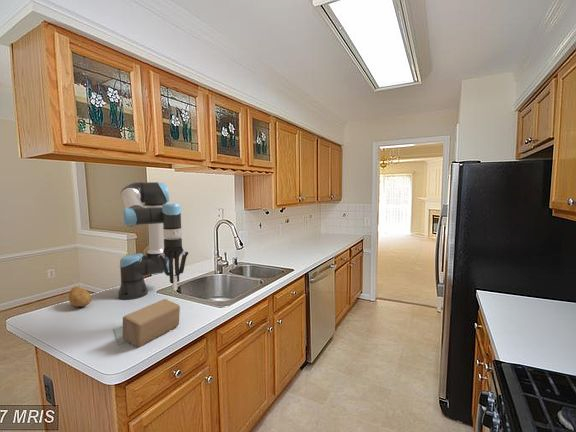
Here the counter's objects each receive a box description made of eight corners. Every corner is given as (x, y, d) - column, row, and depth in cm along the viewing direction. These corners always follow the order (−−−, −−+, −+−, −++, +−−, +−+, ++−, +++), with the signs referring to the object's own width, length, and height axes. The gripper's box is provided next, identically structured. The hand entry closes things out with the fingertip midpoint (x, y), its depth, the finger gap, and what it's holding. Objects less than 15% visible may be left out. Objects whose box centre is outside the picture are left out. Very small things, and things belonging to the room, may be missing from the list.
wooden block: (164, 318, 129) (121, 339, 112) (165, 297, 128) (121, 315, 110) (180, 325, 125) (137, 348, 107) (180, 304, 123) (138, 324, 106)
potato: (73, 313, 140) (72, 294, 139) (66, 304, 150) (65, 287, 150) (94, 307, 146) (92, 290, 146) (85, 300, 157) (84, 283, 156)
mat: (113, 329, 123) (113, 328, 123) (163, 317, 135) (163, 316, 135) (118, 345, 110) (118, 344, 110) (172, 330, 122) (172, 329, 122)
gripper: (159, 240, 120) (161, 294, 122) (190, 237, 128) (192, 288, 130) (155, 238, 126) (157, 290, 128) (184, 235, 134) (186, 284, 136)
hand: (174, 289), depth 129 cm, fingers closed
